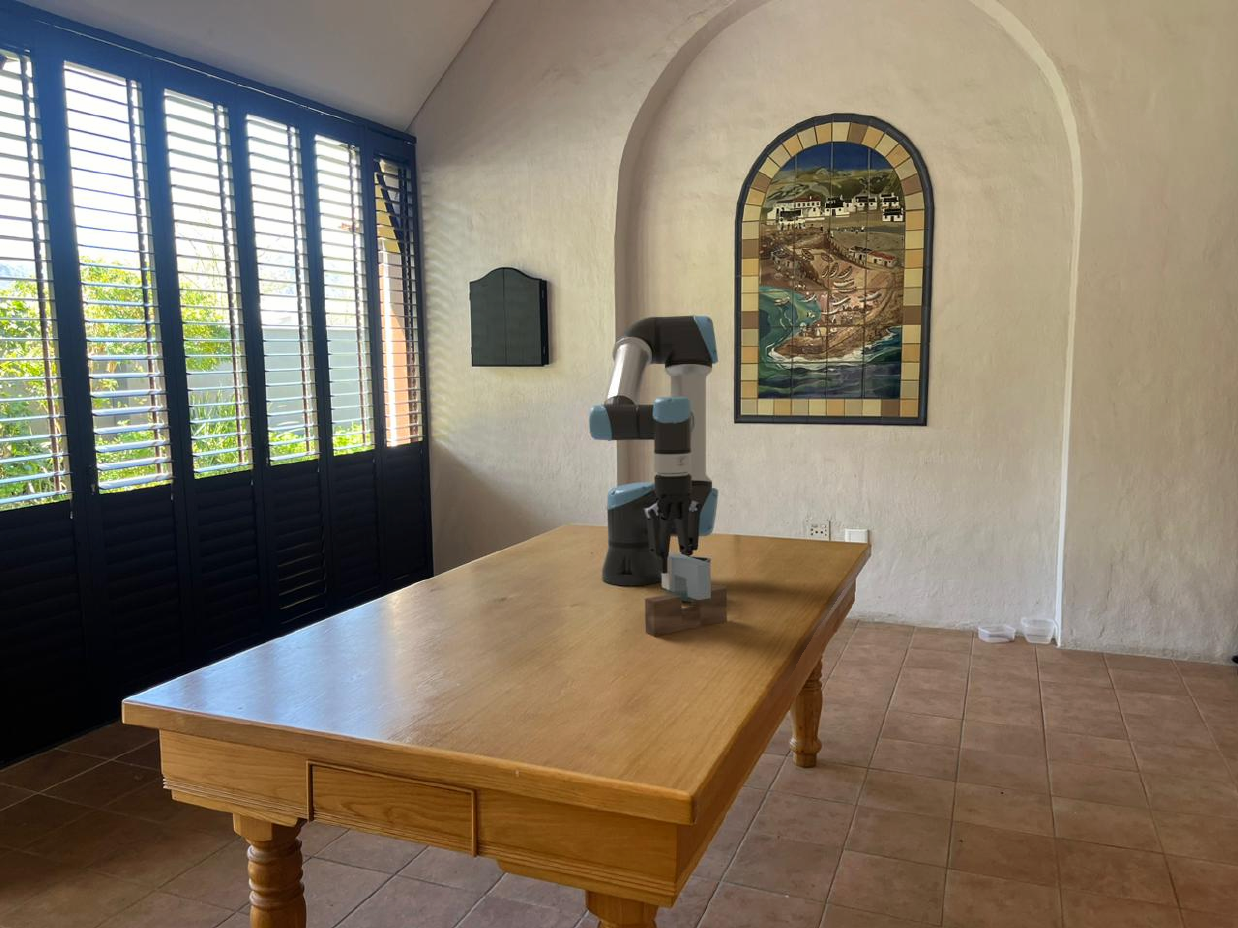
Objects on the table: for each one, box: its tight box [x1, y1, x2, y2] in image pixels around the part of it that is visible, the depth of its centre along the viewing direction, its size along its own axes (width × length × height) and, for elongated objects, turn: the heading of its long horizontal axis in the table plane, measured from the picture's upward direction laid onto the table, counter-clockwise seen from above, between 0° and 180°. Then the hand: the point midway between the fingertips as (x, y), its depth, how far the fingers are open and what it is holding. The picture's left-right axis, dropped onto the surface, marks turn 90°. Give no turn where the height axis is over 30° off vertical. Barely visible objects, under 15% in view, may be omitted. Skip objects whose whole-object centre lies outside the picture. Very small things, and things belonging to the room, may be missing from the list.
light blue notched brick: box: [668, 552, 712, 600], centre depth 188 cm, size 12×3×7 cm, turn 31°
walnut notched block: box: [644, 584, 728, 637], centre depth 190 cm, size 3×18×7 cm, turn 121°
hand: (674, 586), depth 193 cm, fingers closed on light blue notched brick, 3 cm apart
